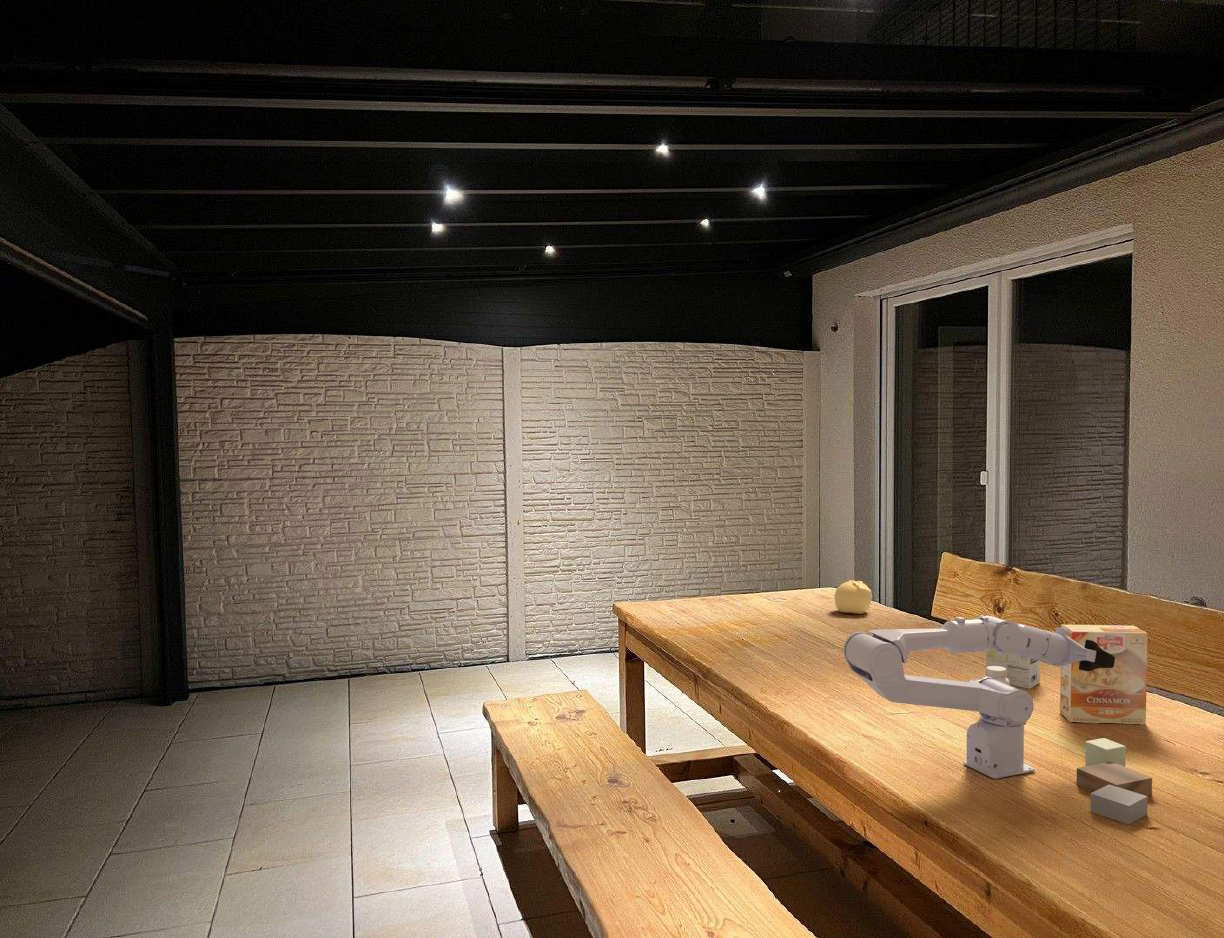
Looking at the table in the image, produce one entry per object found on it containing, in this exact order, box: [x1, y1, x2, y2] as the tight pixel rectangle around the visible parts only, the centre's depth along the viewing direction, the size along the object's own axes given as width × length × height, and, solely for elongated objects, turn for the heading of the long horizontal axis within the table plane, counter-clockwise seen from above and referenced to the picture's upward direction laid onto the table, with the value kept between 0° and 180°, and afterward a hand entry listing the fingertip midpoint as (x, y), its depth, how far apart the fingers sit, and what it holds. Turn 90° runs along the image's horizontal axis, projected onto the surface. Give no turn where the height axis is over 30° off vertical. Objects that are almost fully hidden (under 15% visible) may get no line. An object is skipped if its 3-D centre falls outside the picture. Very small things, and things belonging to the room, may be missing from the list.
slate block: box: [1089, 785, 1148, 826], centre depth 146 cm, size 6×6×3 cm
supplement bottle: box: [983, 666, 1011, 686], centre depth 196 cm, size 5×5×10 cm
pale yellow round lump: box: [834, 579, 873, 615], centre depth 299 cm, size 11×12×11 cm
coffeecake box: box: [1059, 624, 1148, 726], centre depth 191 cm, size 15×7×20 cm, turn 82°
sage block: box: [1084, 737, 1127, 767], centre depth 163 cm, size 4×4×5 cm
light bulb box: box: [985, 649, 1041, 689], centre depth 218 cm, size 11×7×11 cm, turn 47°
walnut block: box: [1076, 761, 1153, 797], centre depth 155 cm, size 8×8×3 cm
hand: (1096, 659), depth 170 cm, fingers open, 7 cm apart
